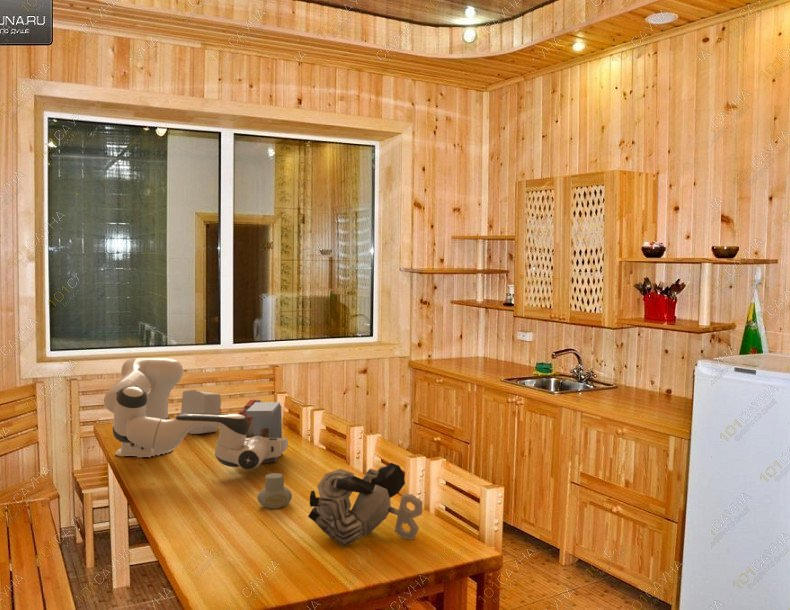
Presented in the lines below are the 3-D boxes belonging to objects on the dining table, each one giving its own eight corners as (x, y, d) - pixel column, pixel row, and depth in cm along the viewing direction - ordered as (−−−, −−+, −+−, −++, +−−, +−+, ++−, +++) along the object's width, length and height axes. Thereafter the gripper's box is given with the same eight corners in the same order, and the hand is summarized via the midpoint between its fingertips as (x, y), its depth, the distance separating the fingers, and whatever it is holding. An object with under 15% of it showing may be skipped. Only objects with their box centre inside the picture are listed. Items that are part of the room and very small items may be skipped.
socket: (249, 463, 286) (249, 456, 286) (255, 455, 296) (255, 449, 296) (275, 463, 286) (275, 456, 285) (279, 455, 296) (279, 449, 295)
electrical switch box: (226, 433, 341) (229, 390, 342) (202, 436, 329) (205, 391, 330) (203, 430, 349) (207, 387, 350) (179, 432, 337) (183, 388, 338)
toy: (295, 524, 219) (370, 471, 236) (365, 592, 201) (440, 530, 218) (290, 476, 207) (370, 423, 224) (364, 544, 189) (444, 482, 206)
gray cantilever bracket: (246, 465, 283) (245, 411, 281) (255, 453, 299) (254, 402, 297) (275, 465, 283) (273, 410, 281) (282, 453, 299) (281, 402, 297)
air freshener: (258, 512, 232) (258, 481, 231) (256, 503, 240) (256, 473, 239) (293, 508, 235) (292, 477, 234) (290, 500, 243) (289, 470, 242)
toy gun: (238, 445, 325) (232, 415, 319) (258, 420, 342) (252, 392, 337) (246, 445, 324) (240, 416, 318) (266, 421, 341) (260, 393, 336)
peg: (259, 460, 289) (258, 430, 288) (261, 458, 292) (260, 428, 292) (268, 460, 289) (267, 430, 288) (270, 458, 292) (269, 428, 291)
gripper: (230, 456, 278) (239, 446, 292) (284, 456, 277) (290, 446, 291) (229, 440, 277) (238, 431, 291) (283, 440, 277) (290, 431, 290)
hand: (265, 439), depth 291 cm, fingers open, 8 cm apart
